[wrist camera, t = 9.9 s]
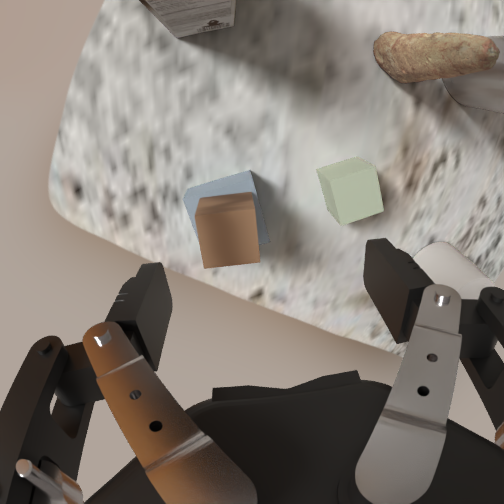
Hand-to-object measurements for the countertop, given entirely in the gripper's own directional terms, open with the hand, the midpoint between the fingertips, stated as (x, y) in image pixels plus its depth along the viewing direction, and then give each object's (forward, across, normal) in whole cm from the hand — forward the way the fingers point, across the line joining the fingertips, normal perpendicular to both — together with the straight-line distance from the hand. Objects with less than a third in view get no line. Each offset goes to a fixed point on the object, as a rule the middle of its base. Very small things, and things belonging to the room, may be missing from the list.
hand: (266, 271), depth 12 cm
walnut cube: (+19, +3, +5) cm, 20 cm away
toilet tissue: (+24, -26, +18) cm, 39 cm away
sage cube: (+23, -10, +4) cm, 25 cm away
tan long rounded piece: (+23, -18, -11) cm, 31 cm away
